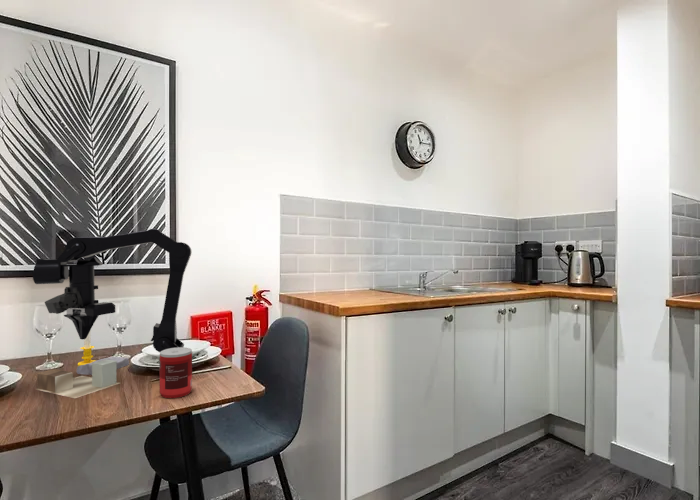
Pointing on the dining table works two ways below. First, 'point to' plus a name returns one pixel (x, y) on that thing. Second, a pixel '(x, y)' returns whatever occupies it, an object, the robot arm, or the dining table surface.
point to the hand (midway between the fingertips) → (83, 339)
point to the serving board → (80, 387)
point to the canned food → (175, 372)
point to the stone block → (88, 367)
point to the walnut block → (55, 380)
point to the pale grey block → (104, 373)
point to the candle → (87, 351)
